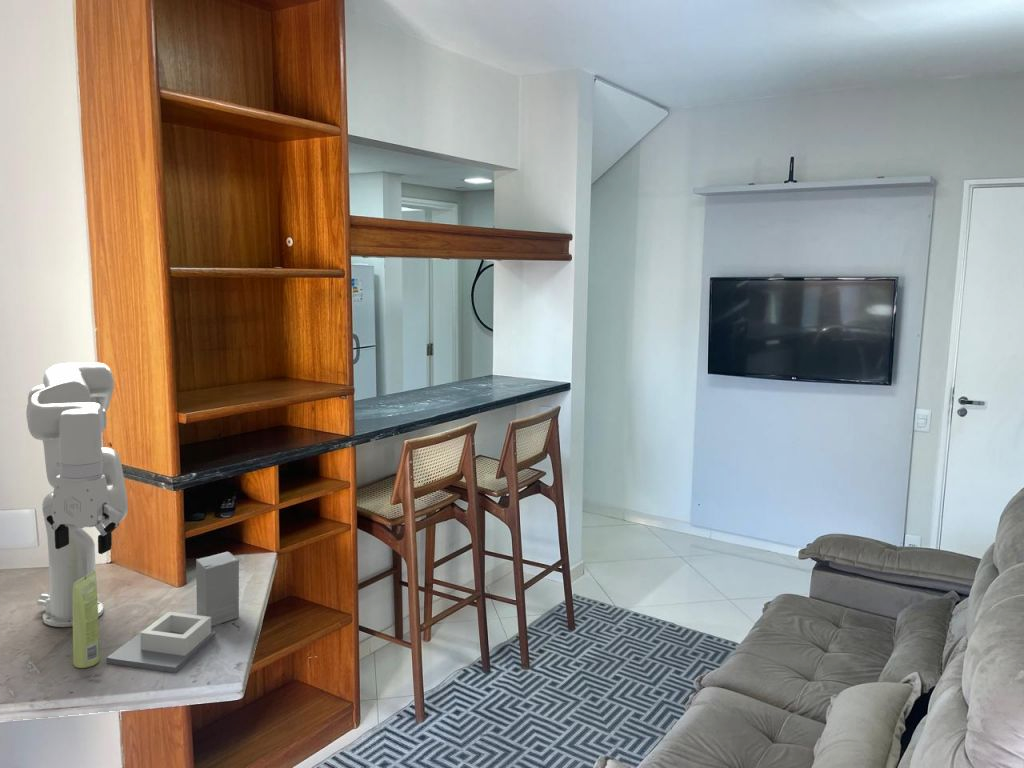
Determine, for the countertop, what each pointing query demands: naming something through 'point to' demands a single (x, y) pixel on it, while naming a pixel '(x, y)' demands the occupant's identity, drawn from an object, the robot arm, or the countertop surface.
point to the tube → (85, 622)
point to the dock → (166, 643)
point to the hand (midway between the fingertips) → (83, 549)
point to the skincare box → (218, 587)
